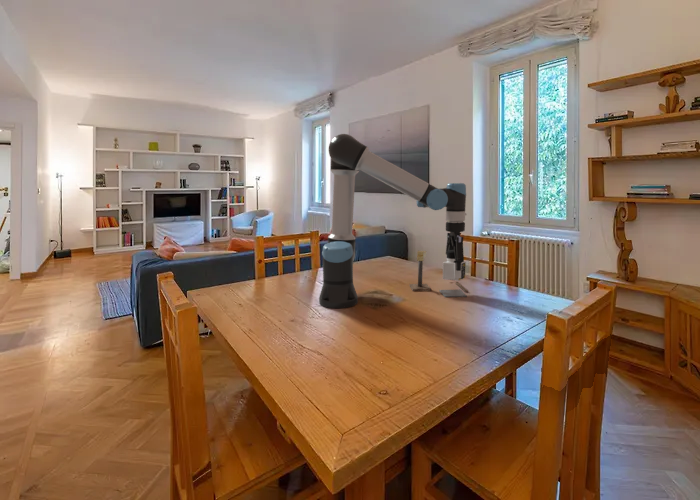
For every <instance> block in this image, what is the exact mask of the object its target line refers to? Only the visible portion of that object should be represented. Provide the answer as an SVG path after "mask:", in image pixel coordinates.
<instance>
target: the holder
mask: <svg viewBox="0 0 700 500" xmlns="http://www.w3.org/2000/svg"><path fill="white" fill-rule="evenodd" d="M417 262H418V265H417V267H418V269H417V283H409V288H410V289H411V290H412V292H431V291H432V288H431V286H430V285H429V284H428V283H423V270H424V269H423V264H424V263H423V262H424V261H417ZM455 285H456V286H457V287H459V288H460V290H461V291H462V292H464V293H468V291H469V290H468V289H467V288H466V287H464V286H463V285H462V284H461V283H459V281H455Z"/></svg>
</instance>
